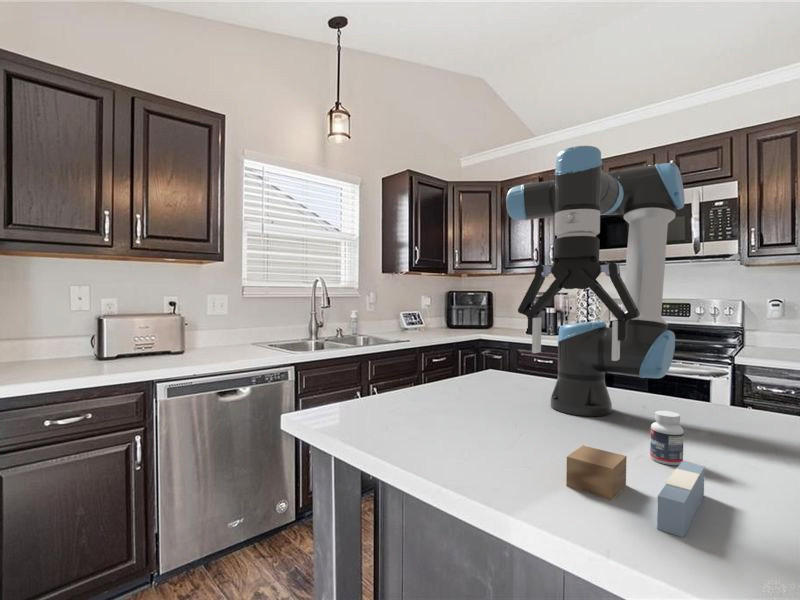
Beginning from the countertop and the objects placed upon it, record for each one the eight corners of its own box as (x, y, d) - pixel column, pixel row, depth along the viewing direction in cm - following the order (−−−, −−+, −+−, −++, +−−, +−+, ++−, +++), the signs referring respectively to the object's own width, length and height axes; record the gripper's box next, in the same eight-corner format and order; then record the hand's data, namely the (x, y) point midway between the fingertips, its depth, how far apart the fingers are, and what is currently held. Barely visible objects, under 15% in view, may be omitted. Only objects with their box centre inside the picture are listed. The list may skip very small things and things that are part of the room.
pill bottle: (644, 455, 85) (644, 409, 85) (669, 454, 85) (670, 409, 85) (662, 466, 80) (663, 417, 79) (689, 465, 80) (690, 417, 80)
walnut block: (566, 487, 72) (566, 456, 71) (582, 473, 77) (582, 445, 77) (611, 501, 67) (612, 468, 67) (625, 486, 72) (626, 456, 72)
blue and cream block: (657, 528, 59) (657, 494, 59) (681, 489, 71) (681, 459, 70) (683, 537, 57) (684, 501, 57) (703, 494, 69) (704, 465, 68)
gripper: (502, 239, 83) (499, 351, 83) (654, 229, 68) (650, 366, 68) (517, 243, 89) (515, 347, 89) (659, 234, 74) (656, 360, 74)
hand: (574, 356), depth 79 cm, fingers open, 13 cm apart
